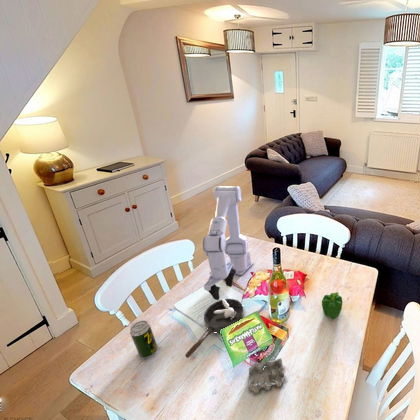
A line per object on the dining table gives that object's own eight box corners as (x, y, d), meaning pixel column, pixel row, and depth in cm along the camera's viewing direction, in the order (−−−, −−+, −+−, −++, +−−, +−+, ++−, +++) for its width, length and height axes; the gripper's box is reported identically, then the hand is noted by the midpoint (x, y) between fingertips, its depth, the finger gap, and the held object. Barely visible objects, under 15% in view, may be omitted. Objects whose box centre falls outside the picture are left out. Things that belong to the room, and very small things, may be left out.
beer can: (137, 360, 88) (126, 335, 83) (142, 346, 93) (133, 321, 88) (155, 357, 90) (145, 332, 84) (160, 343, 94) (151, 318, 89)
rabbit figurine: (228, 324, 101) (211, 312, 102) (230, 324, 105) (213, 311, 106) (238, 310, 104) (222, 298, 104) (240, 310, 107) (224, 298, 108)
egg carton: (249, 395, 80) (247, 387, 78) (249, 371, 86) (248, 363, 85) (285, 387, 82) (284, 379, 80) (282, 364, 89) (282, 356, 87)
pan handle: (210, 328, 98) (209, 325, 97) (214, 330, 98) (213, 326, 97) (184, 357, 88) (183, 354, 87) (188, 359, 87) (187, 356, 87)
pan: (221, 301, 112) (220, 294, 111) (251, 310, 108) (250, 304, 107) (196, 327, 100) (195, 321, 99) (228, 339, 96) (227, 332, 95)
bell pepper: (326, 324, 104) (327, 305, 99) (318, 309, 110) (319, 290, 106) (345, 318, 106) (347, 299, 102) (337, 303, 113) (338, 285, 109)
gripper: (221, 250, 106) (226, 277, 112) (194, 273, 93) (201, 302, 99) (237, 255, 104) (240, 282, 110) (211, 278, 91) (216, 307, 97)
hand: (223, 292), depth 104 cm, fingers open, 7 cm apart
